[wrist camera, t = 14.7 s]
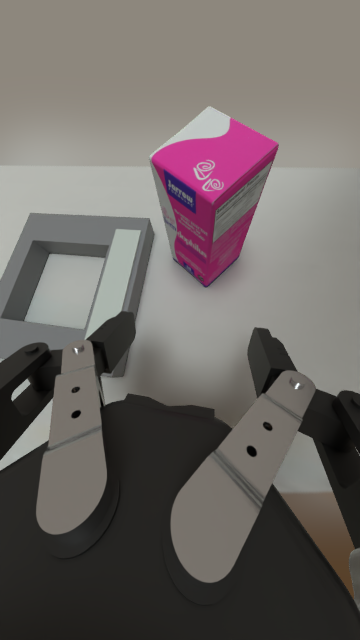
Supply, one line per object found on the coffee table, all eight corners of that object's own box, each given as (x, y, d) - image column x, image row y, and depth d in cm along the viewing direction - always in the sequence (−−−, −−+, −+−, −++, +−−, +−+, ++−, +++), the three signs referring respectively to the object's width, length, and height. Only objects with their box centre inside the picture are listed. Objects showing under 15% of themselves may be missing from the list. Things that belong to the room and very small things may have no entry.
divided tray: (154, 233, 23) (148, 216, 21) (122, 376, 19) (110, 377, 16) (46, 227, 25) (28, 211, 23) (-5, 354, 21) (-35, 352, 18)
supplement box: (171, 260, 22) (144, 152, 11) (205, 230, 23) (211, 100, 12) (205, 290, 20) (213, 200, 9) (240, 257, 21) (285, 137, 10)
